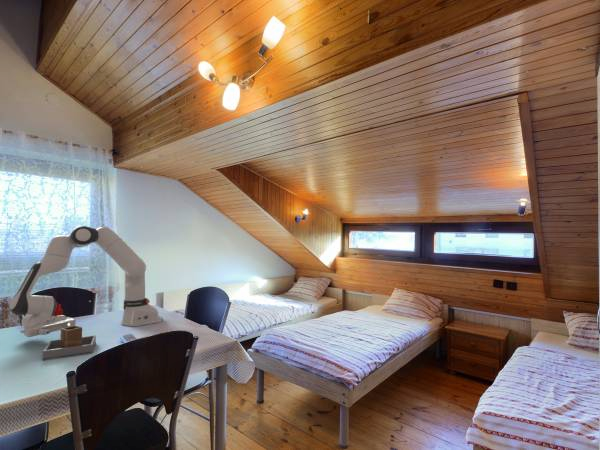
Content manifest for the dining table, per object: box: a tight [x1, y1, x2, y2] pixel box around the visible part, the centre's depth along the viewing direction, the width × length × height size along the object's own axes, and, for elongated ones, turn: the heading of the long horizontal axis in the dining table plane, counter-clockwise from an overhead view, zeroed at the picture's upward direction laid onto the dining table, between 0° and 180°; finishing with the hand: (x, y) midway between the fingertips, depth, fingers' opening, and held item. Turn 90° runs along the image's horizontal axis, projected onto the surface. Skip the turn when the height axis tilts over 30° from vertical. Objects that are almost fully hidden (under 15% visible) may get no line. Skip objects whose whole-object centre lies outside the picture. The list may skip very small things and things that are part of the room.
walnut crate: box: [60, 325, 83, 348], centre depth 147 cm, size 6×6×10 cm
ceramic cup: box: [53, 303, 64, 316], centre depth 190 cm, size 13×17×10 cm
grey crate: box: [42, 334, 97, 361], centre depth 147 cm, size 18×14×4 cm
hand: (58, 329), depth 153 cm, fingers open, 8 cm apart
